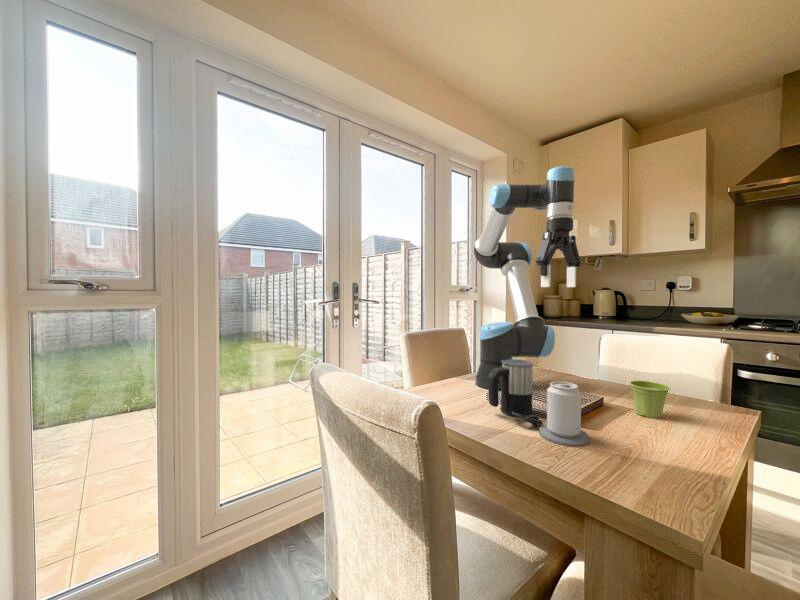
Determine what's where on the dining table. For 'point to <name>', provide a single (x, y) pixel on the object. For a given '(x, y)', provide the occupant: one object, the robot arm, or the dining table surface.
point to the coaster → (574, 441)
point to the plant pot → (649, 398)
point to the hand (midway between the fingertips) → (558, 287)
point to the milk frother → (513, 389)
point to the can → (564, 409)
